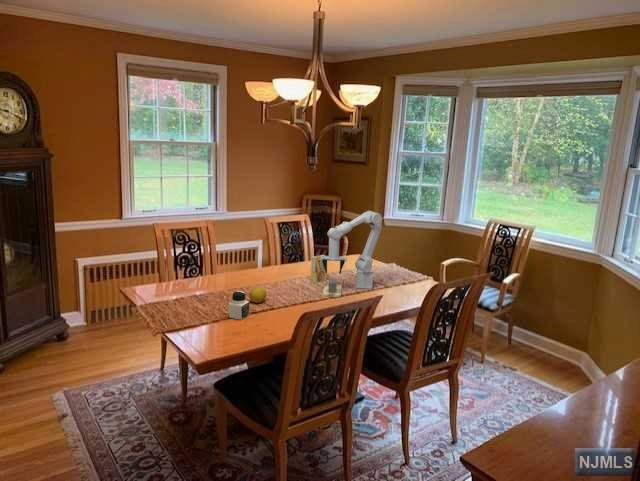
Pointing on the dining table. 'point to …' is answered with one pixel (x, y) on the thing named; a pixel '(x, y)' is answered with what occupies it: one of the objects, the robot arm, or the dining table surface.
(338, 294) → the board
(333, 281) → the sanding block
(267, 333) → the dining table surface
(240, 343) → the dining table surface
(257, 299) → the fruit
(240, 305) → the medicine bottle
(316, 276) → the candy box
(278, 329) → the dining table surface
